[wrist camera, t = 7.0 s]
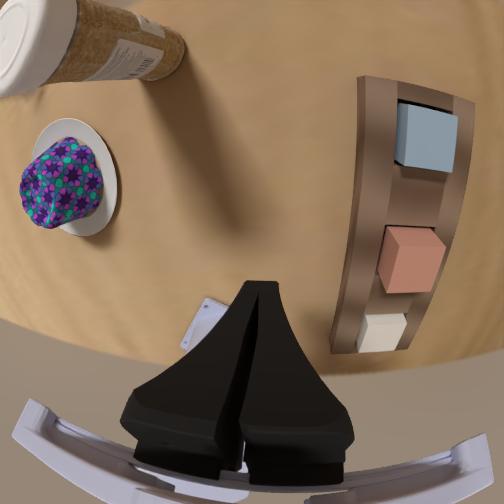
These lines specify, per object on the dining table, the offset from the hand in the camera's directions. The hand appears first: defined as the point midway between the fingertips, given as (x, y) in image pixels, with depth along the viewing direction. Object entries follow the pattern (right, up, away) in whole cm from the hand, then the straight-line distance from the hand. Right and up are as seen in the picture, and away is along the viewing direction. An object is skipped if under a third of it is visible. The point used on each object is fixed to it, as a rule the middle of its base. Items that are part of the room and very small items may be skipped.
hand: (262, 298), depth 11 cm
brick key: (+12, +2, +8) cm, 14 cm away
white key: (+12, -5, +14) cm, 19 cm away
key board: (+12, +3, +9) cm, 15 cm away
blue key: (+11, +11, +4) cm, 16 cm away
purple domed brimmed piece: (-17, +9, +10) cm, 22 cm away
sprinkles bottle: (-7, +16, +3) cm, 18 cm away
